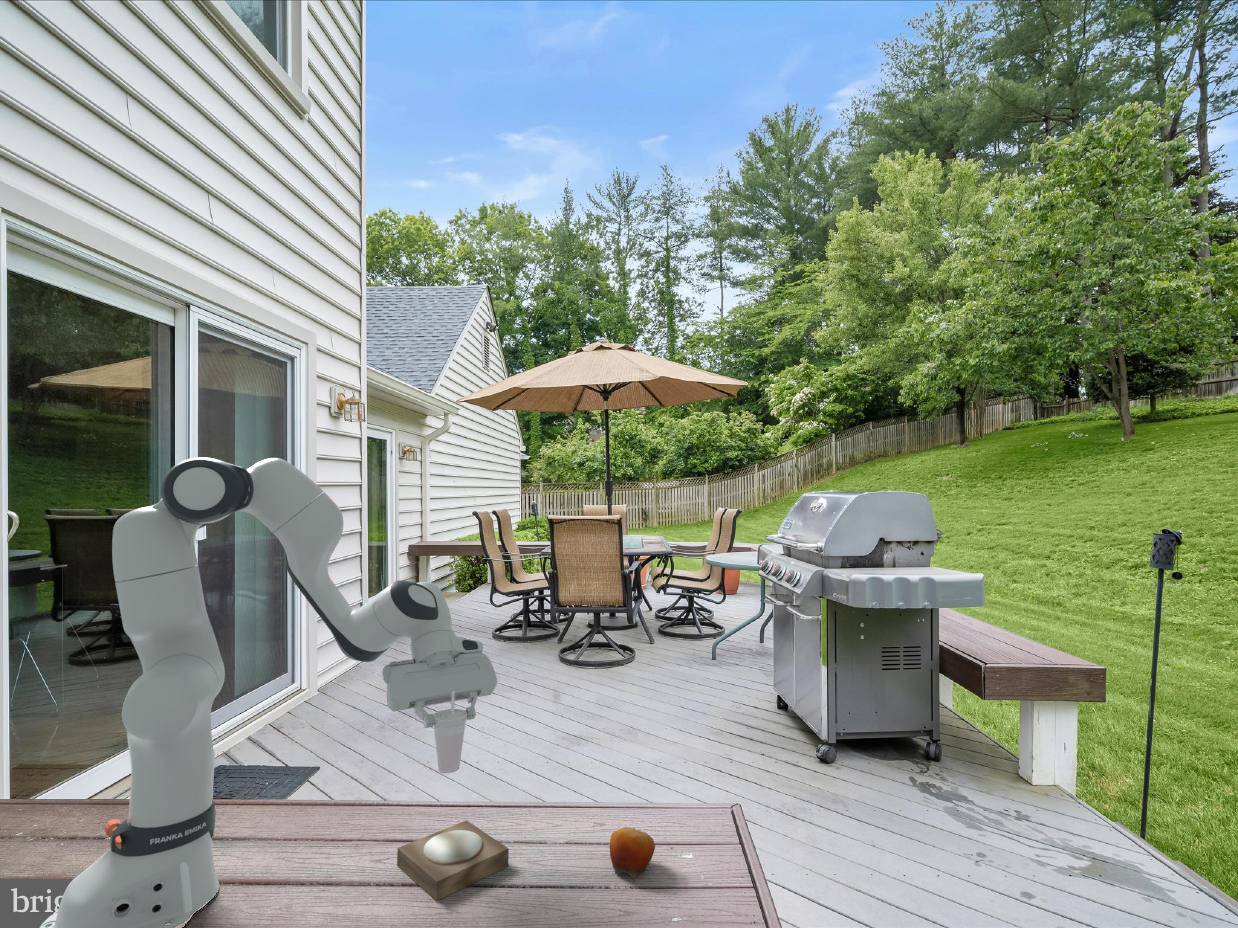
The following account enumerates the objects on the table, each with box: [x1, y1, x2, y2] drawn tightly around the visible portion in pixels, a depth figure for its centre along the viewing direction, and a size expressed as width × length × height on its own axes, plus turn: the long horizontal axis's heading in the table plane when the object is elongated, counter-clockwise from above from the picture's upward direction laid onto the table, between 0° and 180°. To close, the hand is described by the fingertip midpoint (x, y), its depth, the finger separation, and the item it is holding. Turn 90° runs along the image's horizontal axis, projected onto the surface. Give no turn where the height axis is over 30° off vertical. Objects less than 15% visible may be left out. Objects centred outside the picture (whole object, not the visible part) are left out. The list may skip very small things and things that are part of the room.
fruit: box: [609, 826, 656, 882], centre depth 108 cm, size 8×8×8 cm
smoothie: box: [432, 690, 468, 774], centre depth 112 cm, size 6×6×14 cm
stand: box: [396, 820, 510, 902], centre depth 109 cm, size 14×14×4 cm
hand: (450, 721), depth 112 cm, fingers closed on smoothie, 6 cm apart
